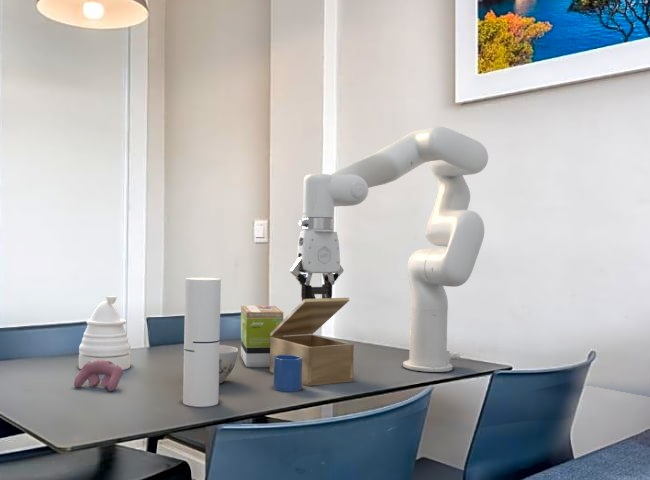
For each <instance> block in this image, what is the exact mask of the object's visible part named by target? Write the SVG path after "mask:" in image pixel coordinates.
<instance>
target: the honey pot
mask: <svg viewBox="0 0 650 480" xmlns="http://www.w3.org/2000/svg"><path fill="white" fill-rule="evenodd" d="M117 297H118V296H116V295H107V296H106V297H105V299H106V300H102V302H100V303H99V304H98V305H97V306H96V307H95V309H94V311H92V314H91V316H90V318H89V319H87V320H86V325H87V326H86V328H85V330H84V332H83V337H82V338H81V343H80V344H79V346H78V350H79V351H78V353H79V354H78V369H80V370H81V369H82V367H83V366H84V365H85V364H87V362H88V361H91V362H92V361H97V360H104V361H110V362H112V363H115V364H117V365H118V366H119V367H121V368H122V370H123V371H124V370H127V369H130V368H131V344H130V342H129V338H128V337H127V334H128V333H127V331H126V329H125V327H124V325H126V324H127V320H126V319H125V318H121V316H120V314H119V312H118V310H117V308H115V306H114V304H115V303H116V301H117Z"/></svg>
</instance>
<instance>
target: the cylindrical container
mask: <svg viewBox="0 0 650 480" xmlns="http://www.w3.org/2000/svg"><path fill="white" fill-rule="evenodd" d="M184 280H185V281H184V327H183V329H184V331H183V377H182V378H183V381H182V382H183V384H182V385H183V386H182V387H183V389H182V404H183V405H185V406H190V407H195V408H206V407H213V406H216V405H218V404H219V394H220V393H219V392H220V391H219V388H220V383H219V345H221V343H220V337H221V293H222V292H221V290H222V289H221V287H222V283H221V282H222V279H221V278H218V277H217V278H215V277H186V278H184Z"/></svg>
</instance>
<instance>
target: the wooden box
mask: <svg viewBox="0 0 650 480" xmlns="http://www.w3.org/2000/svg"><path fill="white" fill-rule="evenodd" d="M354 349H355V347H354V344H353V343H350V342H345V341H341V340H338V339H337V340H336V339H332V338H329V337H324V336H321V335H316V334H304V335H287V336H278V337H270V367H269V372H270V373H272V374H274V356H277V355H296V356H300V357H302V385H304V386H308V387H311V386H323V385H330V384H331V385H332V384H341V383H343V384H344V383H351V382H352V383H353V382H354Z"/></svg>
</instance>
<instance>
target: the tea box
mask: <svg viewBox="0 0 650 480" xmlns="http://www.w3.org/2000/svg"><path fill="white" fill-rule="evenodd" d="M283 320H284V311H282V310H281V309H280V308H278V307H277V306H276V305H263V304H262V305H261V304H259V305H257V304H256V305H240V357H241V359H242V361H243V363H244V365H245V367H246V368H270V337H278V336H271V335H270V333H271V332H272V331H273V330H274V329H275V328H276V327H277V326H278V325H279V324H280V323H281V322H282V321H283Z"/></svg>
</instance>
